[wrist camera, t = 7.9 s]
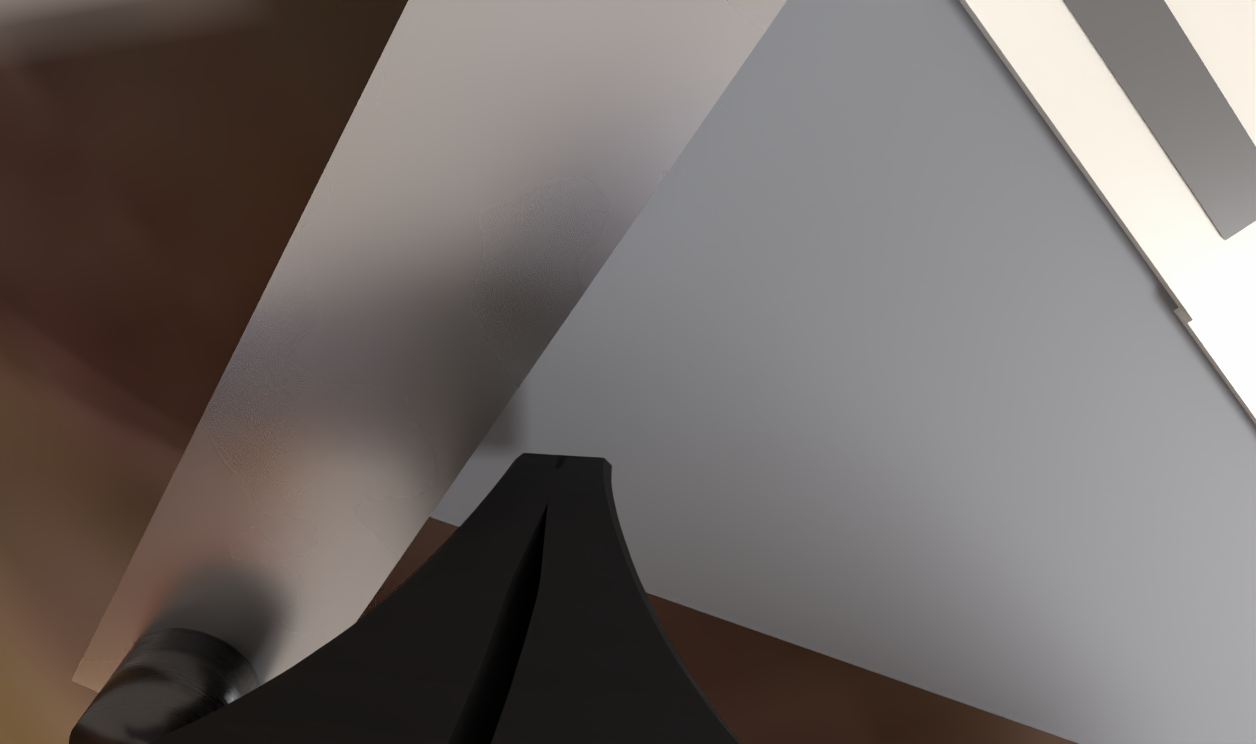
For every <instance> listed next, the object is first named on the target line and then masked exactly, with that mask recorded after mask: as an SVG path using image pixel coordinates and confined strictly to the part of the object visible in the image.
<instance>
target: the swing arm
mask: <svg viewBox="0 0 1256 744" xmlns="http://www.w3.org/2000/svg"><path fill="white" fill-rule="evenodd" d="M786 1H787V0H408V2H407V4H406V6H405V8H404V10H403V12H402V14H401V16H400V18H399V20H398V22H397V24H396V26H395V28H394V30H393V32H392V34H391V37H390V39H389V41H388V43H387V45H386V47H385V49H384V51H383V53H382V55H381V57H380V59H379V61H378V63H377V65H376V67H375V69H374V71H373V73H372V75H371V77H370V79H369V81H368V83H367V85H366V87H365V89H364V91H363V93H362V95H361V97H360V99H359V101H358V103H357V105H356V107H355V109H354V111H353V113H352V115H351V117H350V119H349V121H348V123H347V125H346V127H345V129H344V131H343V133H342V135H341V137H340V139H339V141H338V143H337V145H336V147H335V149H334V151H333V153H332V155H331V158H330V160H329V162H328V164H327V166H326V168H325V170H324V172H323V174H322V176H321V178H320V180H319V182H318V184H317V186H316V188H315V190H314V192H313V194H312V196H311V198H310V200H309V202H308V204H307V206H306V208H305V210H304V212H303V214H302V216H301V218H300V220H299V222H298V224H297V226H296V228H295V230H294V232H293V234H292V236H291V238H290V240H289V242H288V244H287V246H286V248H285V250H284V252H283V254H282V256H281V258H280V260H279V262H278V264H277V266H276V268H275V270H274V272H273V274H272V276H271V278H270V281H269V283H268V285H267V287H266V289H265V291H264V293H263V295H262V297H261V299H260V301H259V303H258V305H257V307H256V309H255V311H254V313H253V315H252V317H251V319H250V321H249V323H248V325H247V327H246V329H245V331H244V333H243V335H242V337H241V339H240V341H239V343H238V345H237V347H236V349H235V351H234V353H233V355H232V357H231V359H230V361H229V363H228V365H227V367H226V369H225V371H224V373H223V375H222V377H221V379H220V381H219V383H218V385H217V387H216V389H215V391H214V393H213V395H212V397H211V399H210V402H209V404H208V406H207V408H206V410H205V412H204V414H203V416H202V418H201V420H200V422H199V424H198V426H197V428H196V430H195V432H194V434H193V436H192V438H191V440H190V442H189V444H188V446H187V448H186V450H185V452H184V454H183V456H182V458H181V460H180V462H179V464H178V466H177V468H176V470H175V472H174V474H173V476H172V478H171V480H170V482H169V484H168V486H167V488H166V490H165V492H164V494H163V496H162V498H161V500H160V502H159V504H158V506H157V508H156V510H155V512H154V514H153V516H152V518H151V520H150V522H149V525H148V527H147V529H146V531H145V533H144V535H143V537H142V539H141V541H140V543H139V545H138V547H137V549H136V551H135V553H134V555H133V557H132V559H131V561H130V563H129V565H128V567H127V569H126V571H125V573H124V575H123V577H122V579H121V581H120V583H119V585H118V587H117V589H116V591H115V593H114V595H113V597H112V599H111V601H110V603H109V605H108V607H107V609H106V611H105V613H104V615H103V617H102V619H101V621H100V623H99V625H98V627H97V629H96V631H95V633H94V635H93V637H92V639H91V641H90V643H89V646H88V648H87V650H86V652H85V654H84V656H83V658H82V660H81V662H80V664H79V666H78V668H77V670H76V672H75V674H74V676H73V678H72V680H71V681H74V682H76V683H78V684H80V685H83V686H85V687H87V688H89V689H92V690H94V691H96V692H98V695H97V696H96V698H95V699H94V700H93V702H92V703H91V705H90V706H89V707H88V709H87V710H86V711H85V713H84V714H83V716H82V717H81V718H80V720H79V721H78V722H77V724H76V725H75V727H74V728H73V730H72V732H71V734H70V739H69V744H148V743H150V742H152V741H154V740H156V739H158V738H160V737H163V736H165V735H167V734H169V733H171V732H173V731H175V730H177V729H180V728H182V727H184V726H186V725H188V724H190V723H192V722H194V721H197V720H198V719H200V718H202V717H204V716H206V715H208V714H210V713H212V712H214V711H216V710H218V709H220V708H222V707H223V706H225V705H227V704H229V703H231V702H232V701H234V700H236V699H238V698H240V697H242V696H243V695H245V694H247V693H249V692H251V691H252V690H254V689H256V688H258V687H259V686H261V685H263V684H264V683H266V682H268V681H269V680H271V679H273V678H274V677H276V676H278V675H280V674H281V673H283V672H285V671H286V670H288V669H289V668H291V667H293V666H294V665H296V664H297V663H299V662H300V661H301V660H303V659H304V658H306V657H307V656H309V655H310V654H312V653H313V652H315V651H316V650H318V649H319V648H321V647H322V646H324V645H325V644H327V643H328V642H330V641H331V640H332V639H334V638H335V637H337V636H338V635H339V634H341V633H342V632H344V631H345V630H346V629H348V628H349V627H351V626H352V625H353V624H354V623H356V622H357V620H358V619H359V617H360V616H361V614H362V613H363V612H364V610H365V609H366V607H367V606H368V604H369V603H370V601H371V600H372V599H373V597H374V596H375V594H376V593H377V591H378V590H379V588H380V587H381V586H382V584H383V583H384V581H385V580H386V578H387V577H388V575H389V574H390V573H391V571H392V570H393V568H394V567H395V565H396V564H397V562H398V561H399V560H400V558H401V557H402V555H403V554H404V552H405V551H406V549H407V548H408V547H409V545H410V544H411V542H412V541H413V539H414V538H415V537H416V535H417V534H418V532H419V531H420V529H421V528H422V526H423V525H424V524H425V522H426V521H427V519H428V518H429V516H430V515H431V513H432V512H433V511H434V509H435V508H436V506H437V505H438V503H439V502H440V500H441V499H442V498H443V496H444V495H445V493H446V492H447V490H448V489H449V487H450V486H451V485H452V483H453V482H454V480H455V479H456V477H457V476H458V474H459V473H460V472H461V470H462V469H463V467H464V466H465V464H466V463H467V461H468V460H469V459H470V457H471V456H472V454H473V453H474V451H475V450H476V448H477V447H478V446H479V444H480V443H481V441H482V440H483V438H484V437H485V436H486V434H487V433H488V431H489V430H490V428H491V427H492V425H493V424H494V423H495V421H496V420H497V418H498V417H499V415H500V414H501V412H502V411H503V410H504V408H505V407H506V405H507V404H508V402H509V401H510V399H511V398H512V397H513V395H514V394H515V392H516V391H517V389H518V388H519V386H520V385H521V384H522V382H523V381H524V379H525V378H526V376H527V375H528V373H529V372H530V371H531V369H532V368H533V366H534V365H535V363H536V362H537V360H538V359H539V358H540V356H541V355H542V353H543V352H544V350H545V349H546V347H547V346H548V345H549V343H550V342H551V340H552V339H553V337H554V336H555V335H556V333H557V332H558V330H559V329H560V327H561V326H562V324H563V323H564V322H565V320H566V319H567V317H568V316H569V314H570V313H571V311H572V310H573V309H574V307H575V306H576V304H577V303H578V301H579V300H580V298H581V297H582V296H583V294H584V293H585V291H586V290H587V288H588V287H589V285H590V284H591V283H592V281H593V280H594V278H595V277H596V275H597V274H598V272H599V271H600V270H601V268H602V267H603V265H604V264H605V262H606V261H607V259H608V258H609V257H610V255H611V254H612V252H613V251H614V249H615V248H616V246H617V245H618V244H619V242H620V241H621V239H622V238H623V236H624V235H625V234H626V232H627V231H628V229H629V228H630V226H631V225H632V223H633V222H634V221H635V219H636V218H637V216H638V215H639V213H640V212H641V210H642V209H643V208H644V206H645V205H646V203H647V202H648V200H649V199H650V197H651V196H652V195H653V193H654V192H655V190H656V189H657V187H658V186H659V184H660V183H661V182H662V180H663V179H664V177H665V176H666V174H667V173H668V171H669V170H670V169H671V167H672V166H673V164H674V163H675V161H676V160H677V158H678V157H679V156H680V154H681V153H682V151H683V150H684V148H685V147H686V145H687V144H688V143H689V141H690V140H691V138H692V137H693V135H694V134H695V133H696V131H697V130H698V128H699V127H700V125H701V124H702V122H703V121H704V120H705V118H706V117H707V115H708V114H709V112H710V111H711V109H712V108H713V107H714V105H715V104H716V102H717V101H718V99H719V98H720V96H721V95H722V94H723V92H724V91H725V89H726V88H727V86H728V85H729V83H730V82H731V81H732V79H733V78H734V76H735V75H736V73H737V72H738V70H739V69H740V68H741V66H742V65H743V63H744V62H745V60H746V59H747V57H748V56H749V55H750V53H751V52H752V50H753V49H754V47H755V46H756V45H757V43H758V42H759V40H760V39H761V37H762V36H763V34H764V33H765V32H766V30H767V29H768V27H769V26H770V24H771V23H772V21H773V20H774V19H775V17H776V16H777V14H778V13H779V11H780V10H781V8H782V7H783V6H784V4H785V3H786Z"/></svg>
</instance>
